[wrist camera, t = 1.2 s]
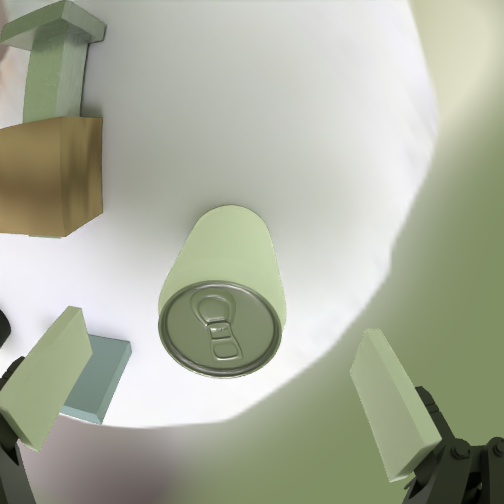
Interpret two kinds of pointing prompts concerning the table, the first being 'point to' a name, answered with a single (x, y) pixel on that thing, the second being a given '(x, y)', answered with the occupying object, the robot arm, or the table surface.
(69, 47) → the shaft
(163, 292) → the can
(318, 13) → the table surface
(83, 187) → the tan wooden block
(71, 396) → the end plate
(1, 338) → the drinking cup
